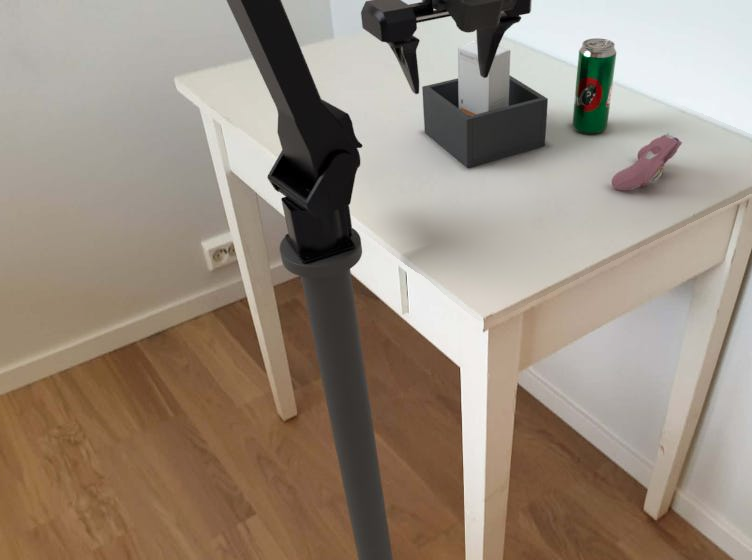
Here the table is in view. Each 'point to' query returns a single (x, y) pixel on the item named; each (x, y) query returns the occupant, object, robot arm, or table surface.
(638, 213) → the table surface
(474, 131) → the dark grey open bin
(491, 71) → the cosmetic box
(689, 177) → the table surface
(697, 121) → the table surface
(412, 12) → the robot arm
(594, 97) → the soda can
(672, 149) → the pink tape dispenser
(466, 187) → the table surface
